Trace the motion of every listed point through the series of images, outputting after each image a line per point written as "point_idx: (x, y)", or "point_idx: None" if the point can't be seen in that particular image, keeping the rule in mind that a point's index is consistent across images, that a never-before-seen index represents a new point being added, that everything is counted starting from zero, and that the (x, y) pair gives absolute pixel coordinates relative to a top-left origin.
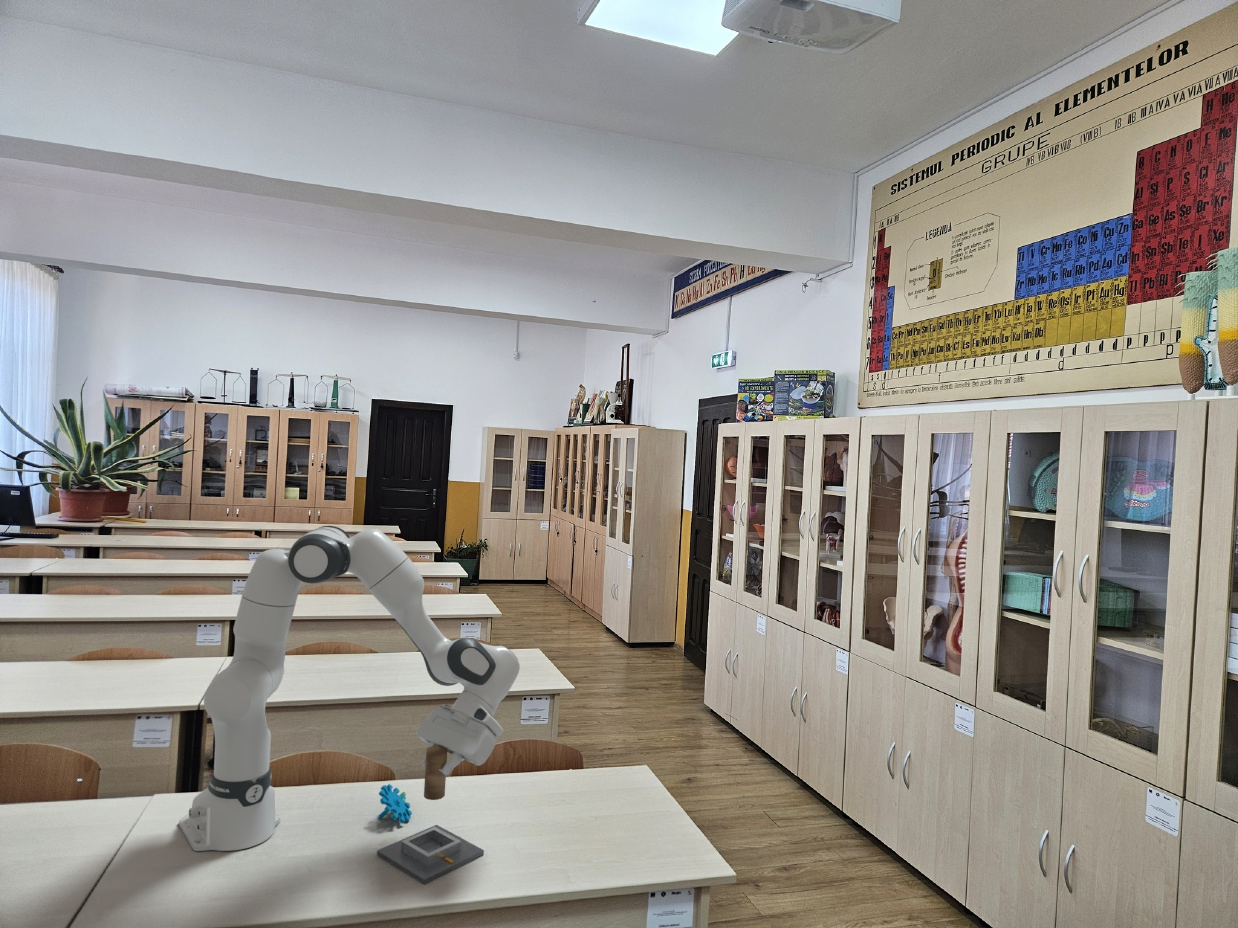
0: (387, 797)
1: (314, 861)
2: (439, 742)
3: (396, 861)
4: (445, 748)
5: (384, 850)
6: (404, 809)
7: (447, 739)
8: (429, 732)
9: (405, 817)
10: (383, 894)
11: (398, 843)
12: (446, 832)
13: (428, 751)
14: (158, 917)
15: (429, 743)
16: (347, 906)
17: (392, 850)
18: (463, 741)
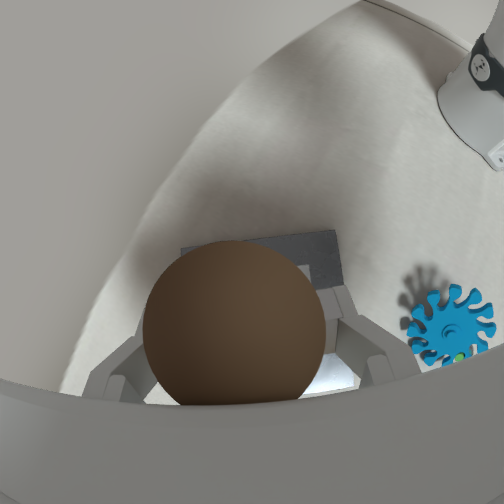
0: (461, 306)
1: (369, 145)
2: (297, 409)
3: (272, 238)
4: (206, 404)
5: (326, 241)
6: (435, 347)
7: (216, 463)
8: (487, 397)
9: (418, 343)
10: (205, 182)
11: (334, 278)
12: (310, 386)
13: (238, 249)
14: (329, 18)
15: (413, 368)
16: (215, 131)
17: (316, 253)
18: (39, 464)
